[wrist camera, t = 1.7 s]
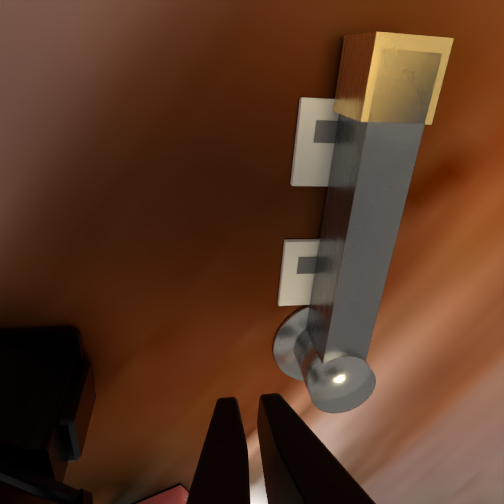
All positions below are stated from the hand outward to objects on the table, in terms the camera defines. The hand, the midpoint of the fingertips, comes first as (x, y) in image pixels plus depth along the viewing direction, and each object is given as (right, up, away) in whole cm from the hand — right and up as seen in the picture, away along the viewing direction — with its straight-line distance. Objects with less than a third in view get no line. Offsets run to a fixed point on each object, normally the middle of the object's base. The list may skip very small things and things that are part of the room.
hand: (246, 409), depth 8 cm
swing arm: (+5, +4, +12) cm, 14 cm away
